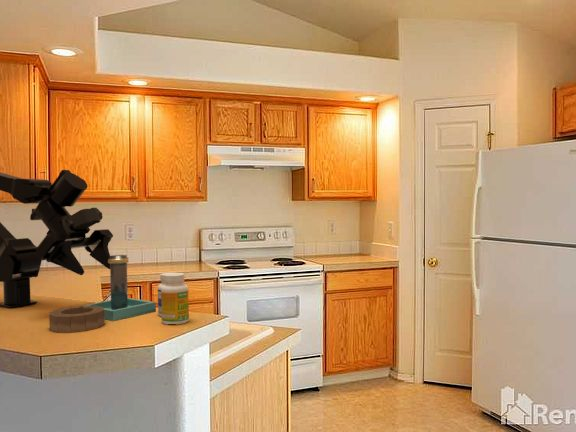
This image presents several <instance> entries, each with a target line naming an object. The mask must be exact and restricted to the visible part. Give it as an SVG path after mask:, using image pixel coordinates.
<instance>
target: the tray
mask: <svg viewBox="0 0 576 432" xmlns="http://www.w3.org/2000/svg"><path fill="white" fill-rule="evenodd" d="M81 306H100V307H103V308H104V319H105V321H106V320H108V321H112V322H114V321H119V319H120V320H124V319H128V318H131V317H132V318H133V317H137V316H141V315H146V314H150V313H154V312H156V311H157V302H156V301H149V300H145V299H137V298H131V297H128V307H126V308H121V309H116V310H112V309H111V299H109V300H104V301H98V302H94V303H88V304H82V305H81Z"/></svg>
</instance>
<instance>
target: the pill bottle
mask: <svg viewBox="0 0 576 432" xmlns="http://www.w3.org/2000/svg"><path fill="white" fill-rule="evenodd" d="M169 273H175V272H174V271H173V272H164V273H160V274H159V275H160V278H159V280H160V282H161V283H160V284H159V285H157V309H158V310H157V311H158V312H157V313H158V315H159V316H160V317H162V306H161V288H162V286H163V285H165V284H166V282H164V281H165V280H164V275H165V274H169Z"/></svg>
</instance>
